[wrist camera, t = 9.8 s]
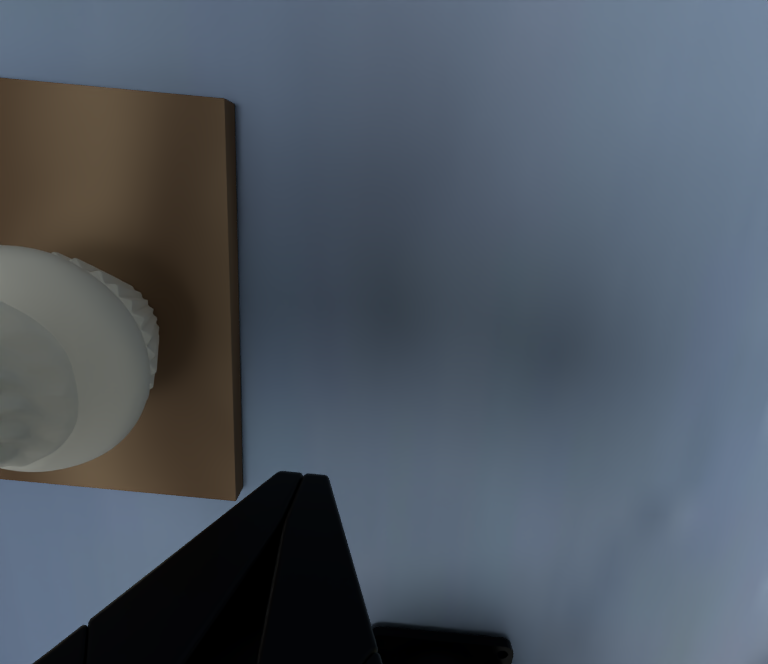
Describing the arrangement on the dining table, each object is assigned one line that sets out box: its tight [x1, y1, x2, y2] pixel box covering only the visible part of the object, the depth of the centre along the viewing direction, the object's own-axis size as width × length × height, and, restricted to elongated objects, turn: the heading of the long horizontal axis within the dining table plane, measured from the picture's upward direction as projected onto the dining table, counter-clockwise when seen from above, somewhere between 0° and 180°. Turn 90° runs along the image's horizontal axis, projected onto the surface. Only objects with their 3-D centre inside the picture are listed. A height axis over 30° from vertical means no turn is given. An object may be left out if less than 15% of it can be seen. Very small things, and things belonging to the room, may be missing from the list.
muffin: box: [0, 245, 159, 472], centre depth 11 cm, size 6×6×7 cm
